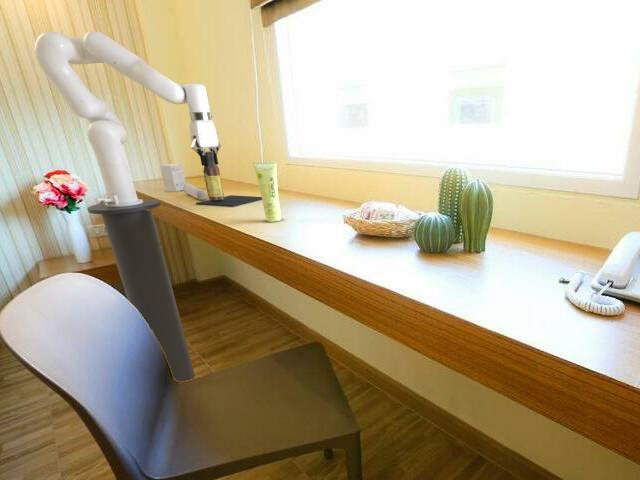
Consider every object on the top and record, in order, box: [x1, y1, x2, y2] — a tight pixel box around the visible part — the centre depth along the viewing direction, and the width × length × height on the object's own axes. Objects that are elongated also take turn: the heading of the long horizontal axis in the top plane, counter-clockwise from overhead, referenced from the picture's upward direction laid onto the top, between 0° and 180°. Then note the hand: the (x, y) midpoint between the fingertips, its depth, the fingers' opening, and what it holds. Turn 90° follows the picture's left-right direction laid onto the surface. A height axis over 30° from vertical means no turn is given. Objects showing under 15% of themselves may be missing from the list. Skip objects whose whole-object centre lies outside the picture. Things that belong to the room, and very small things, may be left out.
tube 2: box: [252, 160, 282, 223], centre depth 131 cm, size 6×5×20 cm
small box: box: [159, 163, 187, 193], centre depth 203 cm, size 8×6×13 cm
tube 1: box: [182, 183, 208, 201], centre depth 182 cm, size 5×5×25 cm
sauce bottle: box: [202, 150, 225, 200], centre depth 165 cm, size 6×6×20 cm
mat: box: [195, 194, 262, 208], centre depth 171 cm, size 20×20×1 cm
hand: (210, 164), depth 164 cm, fingers closed on sauce bottle, 4 cm apart
